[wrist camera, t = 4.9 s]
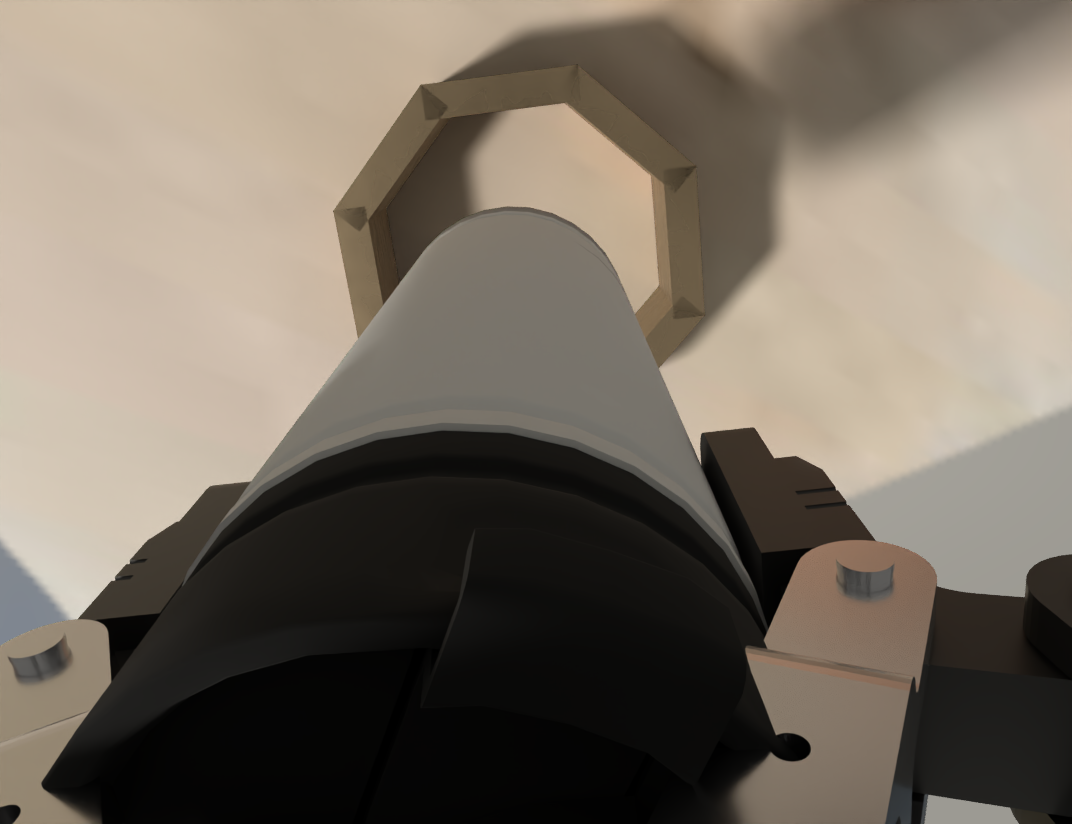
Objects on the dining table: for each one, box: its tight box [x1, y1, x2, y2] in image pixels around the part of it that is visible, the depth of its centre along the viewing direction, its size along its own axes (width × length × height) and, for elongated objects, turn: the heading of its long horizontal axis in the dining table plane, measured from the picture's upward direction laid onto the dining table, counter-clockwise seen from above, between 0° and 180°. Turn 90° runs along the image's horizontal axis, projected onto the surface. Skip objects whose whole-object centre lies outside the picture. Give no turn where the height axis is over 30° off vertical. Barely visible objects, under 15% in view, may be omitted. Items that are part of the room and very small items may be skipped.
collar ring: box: [333, 64, 705, 368], centre depth 35 cm, size 13×13×4 cm
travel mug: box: [41, 207, 800, 824], centre depth 15 cm, size 6×7×20 cm
